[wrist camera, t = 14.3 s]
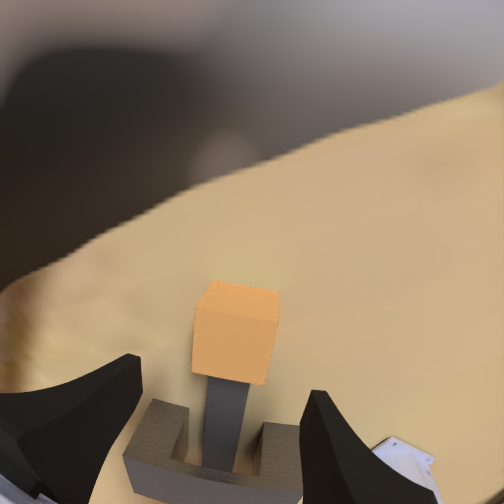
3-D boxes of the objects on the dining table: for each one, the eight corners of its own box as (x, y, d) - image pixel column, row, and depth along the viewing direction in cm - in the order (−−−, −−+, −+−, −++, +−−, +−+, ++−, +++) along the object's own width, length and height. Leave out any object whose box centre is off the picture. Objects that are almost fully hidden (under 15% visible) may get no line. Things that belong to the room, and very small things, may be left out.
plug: (243, 453, 21) (238, 487, 17) (199, 445, 22) (188, 478, 18) (278, 291, 18) (278, 321, 14) (212, 280, 18) (195, 307, 14)
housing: (285, 465, 21) (284, 521, 15) (157, 441, 22) (134, 492, 16) (302, 425, 20) (305, 491, 14) (153, 398, 20) (122, 455, 14)
